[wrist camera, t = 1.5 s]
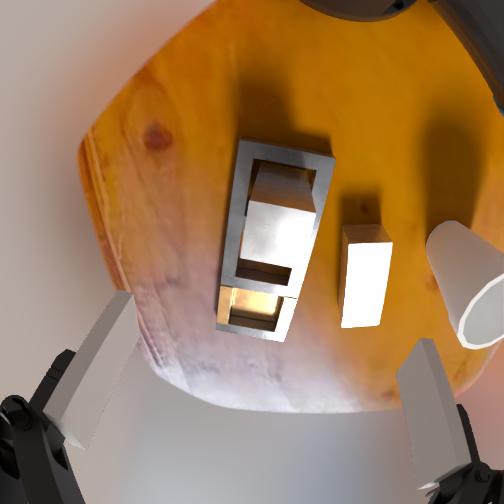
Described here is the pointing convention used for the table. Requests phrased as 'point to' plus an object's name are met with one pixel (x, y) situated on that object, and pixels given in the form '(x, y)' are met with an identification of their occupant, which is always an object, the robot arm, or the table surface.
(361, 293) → the block
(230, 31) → the table surface
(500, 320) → the foam cup
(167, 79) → the table surface
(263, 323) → the grey flat frame
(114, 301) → the robot arm
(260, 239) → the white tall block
